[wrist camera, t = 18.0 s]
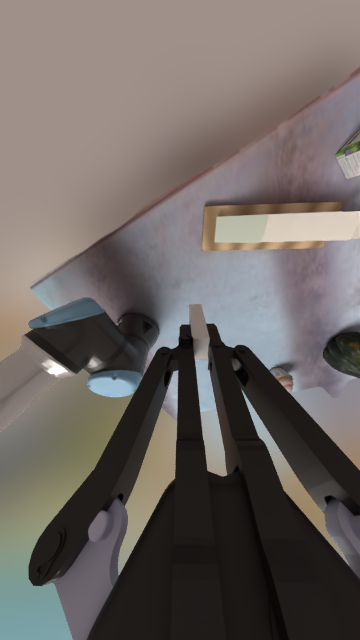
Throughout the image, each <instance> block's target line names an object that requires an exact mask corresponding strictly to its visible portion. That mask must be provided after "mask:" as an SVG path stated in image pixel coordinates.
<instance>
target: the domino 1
mask: <svg viewBox="0 0 360 640" xmlns="http://www.w3.org/2000/svg"><path fill="white" fill-rule="evenodd" d="M267 215H268V214H264V215H243V216H222V217H217V220H216V230H215V240H214V242H221V243H261V239H262V235H263V231H264V227H265V223H266V219H267Z"/></svg>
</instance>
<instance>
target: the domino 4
mask: <svg viewBox="0 0 360 640" xmlns="http://www.w3.org/2000/svg"><path fill="white" fill-rule="evenodd" d="M341 213H342V211H340V212H319V213H317V214H316V217H315V219H314V222H313V224H312V227H311V229H310V232H309V234H308V237H307V239H306V241H328V240H329V238H330V236H331V234H332V232H333V230H334V228H335V226H336V224H337V222H338V220H339V218H340V216H341Z"/></svg>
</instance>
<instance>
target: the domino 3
mask: <svg viewBox="0 0 360 640" xmlns="http://www.w3.org/2000/svg"><path fill="white" fill-rule="evenodd" d="M316 214H317V212H315V213H296V214H293V216H292V219H291V222H290V225H289V228H288V231H287V234H286V237H285V240H284V241H306V239H307V237H308V234H309V232H310V229H311V227H312V224H313V222H314V219H315V217H316Z"/></svg>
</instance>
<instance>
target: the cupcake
mask: <svg viewBox="0 0 360 640" xmlns="http://www.w3.org/2000/svg"><path fill="white" fill-rule="evenodd" d="M269 371H270V372H271V373H272V374H273V375H274V376H275V378H276V379H277V380H278V381H279V382H280V383H281V384H282V385H283V386H284V388H285V389H286V390H287V391H288V392H289V393H290V392H291V391H292V388H293V387H292V386H293V381H292V380H293V378H292V376H291V375H289V374H288V373H287V372H285V371H284V370H283V369H282V368H280V367H276V368H272V369H270V370H269Z"/></svg>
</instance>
